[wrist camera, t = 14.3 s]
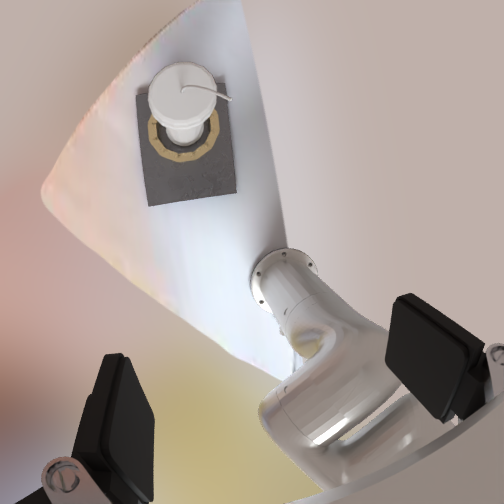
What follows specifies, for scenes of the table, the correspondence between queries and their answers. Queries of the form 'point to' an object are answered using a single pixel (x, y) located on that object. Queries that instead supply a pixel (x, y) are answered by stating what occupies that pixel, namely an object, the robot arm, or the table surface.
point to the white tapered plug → (183, 100)
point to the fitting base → (186, 157)
